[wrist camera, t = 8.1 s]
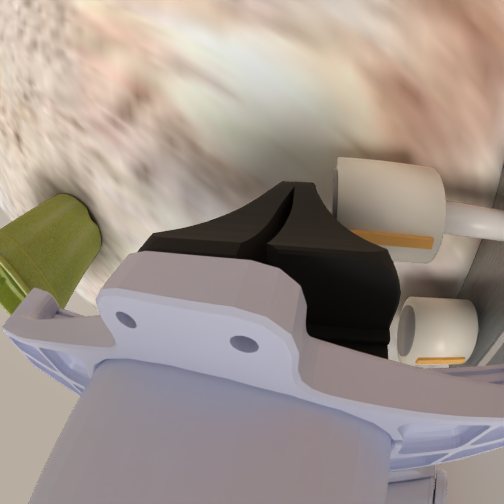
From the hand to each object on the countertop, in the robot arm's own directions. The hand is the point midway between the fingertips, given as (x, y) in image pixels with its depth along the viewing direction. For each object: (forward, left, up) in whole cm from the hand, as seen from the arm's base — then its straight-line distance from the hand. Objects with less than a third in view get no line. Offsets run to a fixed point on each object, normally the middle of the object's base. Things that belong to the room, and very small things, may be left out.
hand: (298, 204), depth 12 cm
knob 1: (0, -7, -2) cm, 7 cm away
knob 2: (-7, -12, -2) cm, 14 cm away
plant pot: (-4, +18, -3) cm, 19 cm away
